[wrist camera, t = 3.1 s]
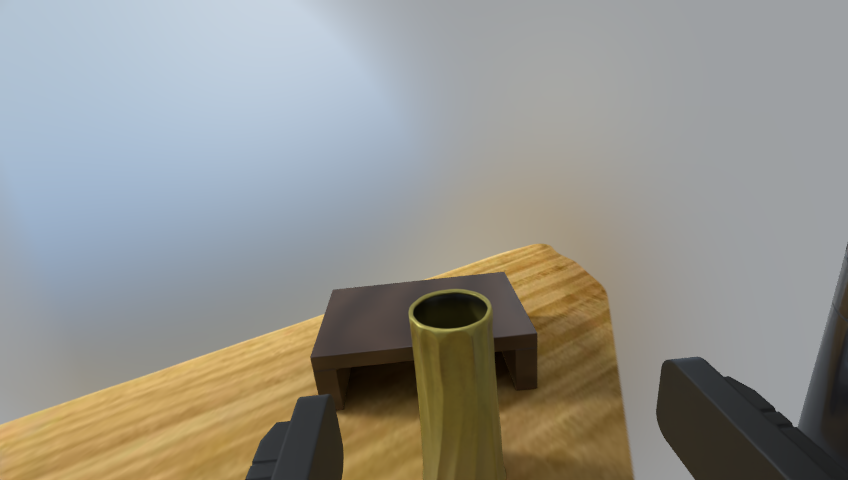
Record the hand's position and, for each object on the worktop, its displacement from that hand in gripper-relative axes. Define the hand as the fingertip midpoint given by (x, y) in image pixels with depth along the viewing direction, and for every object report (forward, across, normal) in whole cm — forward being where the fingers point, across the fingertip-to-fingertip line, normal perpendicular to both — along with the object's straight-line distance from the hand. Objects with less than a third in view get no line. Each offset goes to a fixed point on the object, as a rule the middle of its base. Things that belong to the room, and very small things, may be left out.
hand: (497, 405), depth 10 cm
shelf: (+30, +2, +20) cm, 36 cm away
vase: (+15, 0, +20) cm, 25 cm away
